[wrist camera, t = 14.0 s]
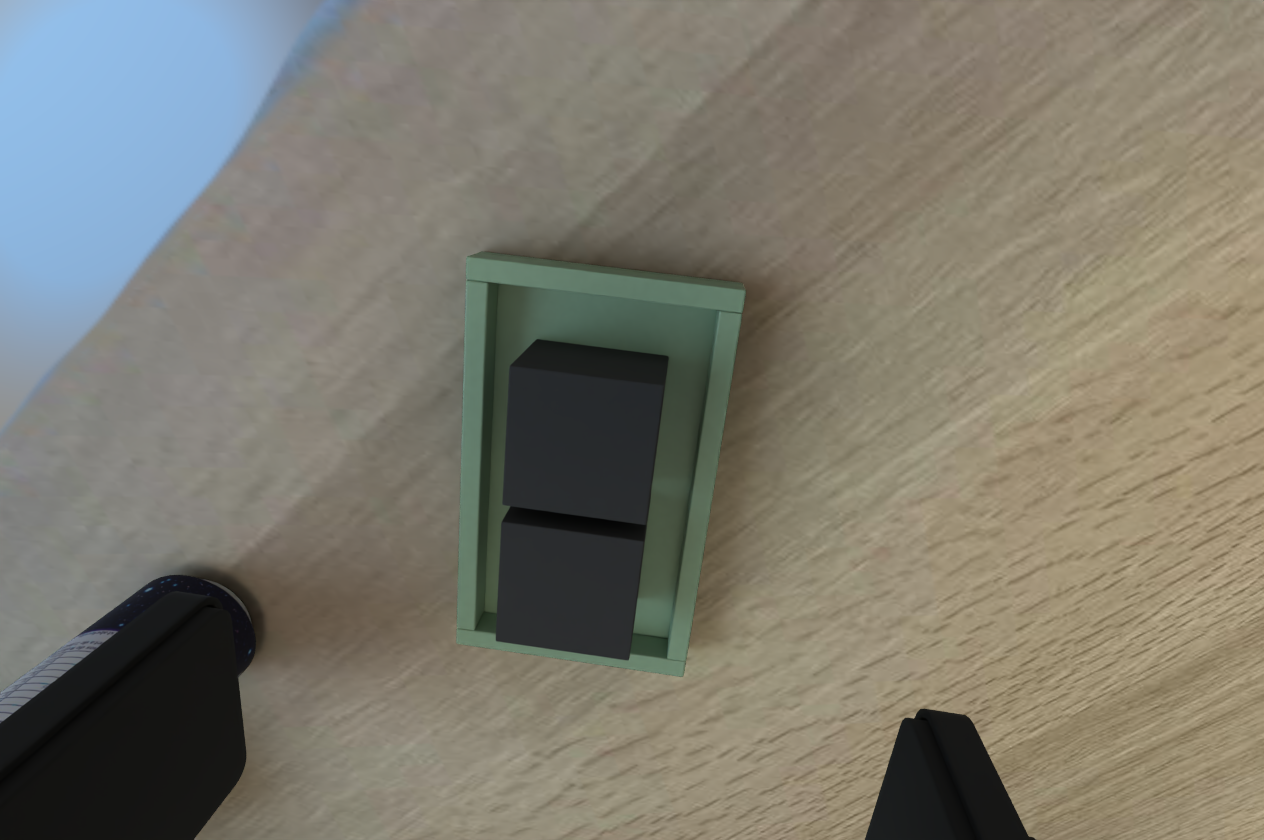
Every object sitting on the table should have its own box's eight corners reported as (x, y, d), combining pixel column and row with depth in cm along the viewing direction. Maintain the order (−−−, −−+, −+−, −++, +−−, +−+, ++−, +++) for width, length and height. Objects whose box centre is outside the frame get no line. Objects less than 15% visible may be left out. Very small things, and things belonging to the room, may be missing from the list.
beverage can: (129, 621, 32) (-176, 859, 21) (180, 540, 30) (-122, 752, 19) (233, 689, 33) (-7, 953, 22) (289, 614, 31) (60, 858, 20)
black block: (527, 475, 28) (500, 521, 24) (651, 492, 27) (644, 541, 24) (520, 582, 29) (495, 641, 25) (637, 599, 29) (628, 661, 25)
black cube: (536, 338, 26) (508, 365, 22) (669, 355, 25) (664, 385, 22) (528, 461, 27) (501, 505, 24) (653, 478, 27) (646, 525, 23)
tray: (481, 251, 25) (465, 256, 24) (742, 282, 25) (746, 290, 23) (468, 618, 31) (455, 644, 29) (684, 650, 30) (683, 678, 28)
